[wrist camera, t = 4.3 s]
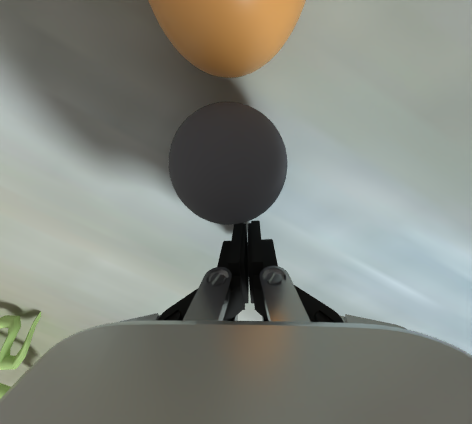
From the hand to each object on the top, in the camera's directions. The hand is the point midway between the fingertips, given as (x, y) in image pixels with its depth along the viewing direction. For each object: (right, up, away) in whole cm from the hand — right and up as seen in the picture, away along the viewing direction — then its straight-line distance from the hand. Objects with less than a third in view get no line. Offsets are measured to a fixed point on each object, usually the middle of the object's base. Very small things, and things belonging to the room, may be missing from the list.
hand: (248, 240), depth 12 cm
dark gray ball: (-1, +4, -3) cm, 5 cm away
